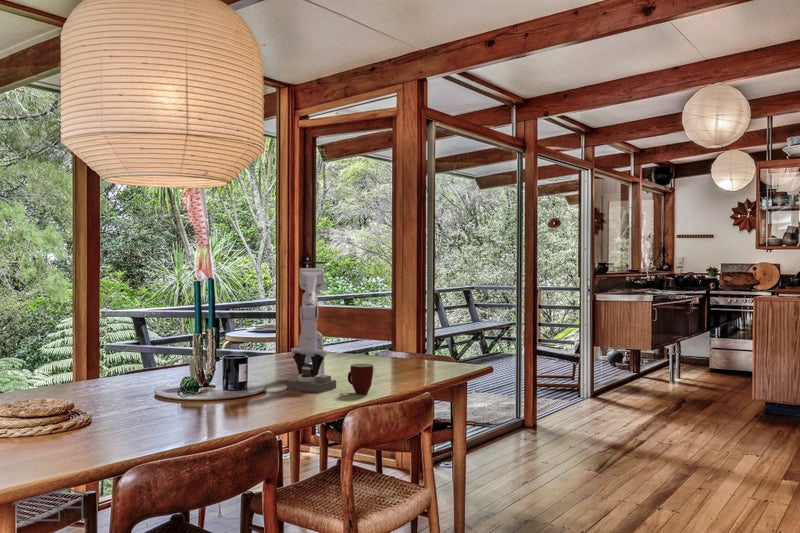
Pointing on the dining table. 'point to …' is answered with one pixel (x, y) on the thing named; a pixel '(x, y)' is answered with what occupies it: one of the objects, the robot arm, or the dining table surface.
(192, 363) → the cup
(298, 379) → the camera body
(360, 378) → the mug
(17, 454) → the dining table surface
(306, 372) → the lens
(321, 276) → the robot arm
